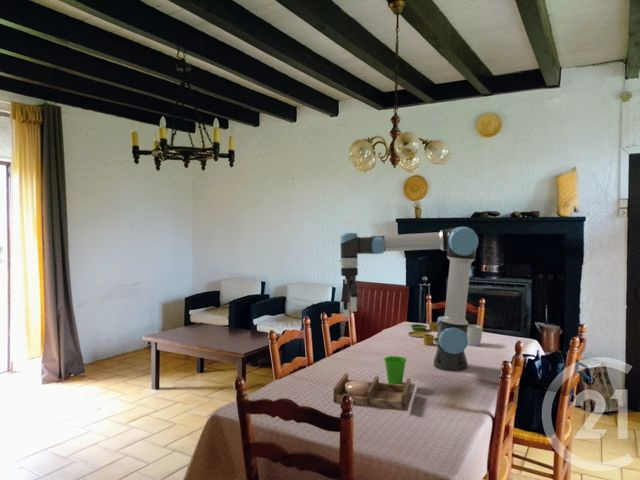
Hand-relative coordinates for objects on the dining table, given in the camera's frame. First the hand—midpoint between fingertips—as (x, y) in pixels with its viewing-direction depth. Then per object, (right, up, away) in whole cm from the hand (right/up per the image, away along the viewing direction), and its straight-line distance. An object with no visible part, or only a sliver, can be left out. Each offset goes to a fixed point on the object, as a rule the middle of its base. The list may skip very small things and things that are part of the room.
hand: (350, 313), depth 212 cm
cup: (+17, -26, -21) cm, 38 cm away
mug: (+68, -24, +43) cm, 84 cm away
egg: (+1, -26, -34) cm, 42 cm away
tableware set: (+52, -24, +61) cm, 83 cm away
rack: (+6, -27, -35) cm, 45 cm away
